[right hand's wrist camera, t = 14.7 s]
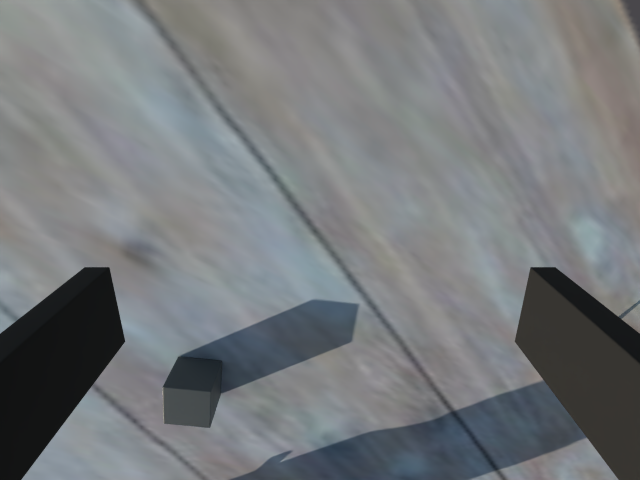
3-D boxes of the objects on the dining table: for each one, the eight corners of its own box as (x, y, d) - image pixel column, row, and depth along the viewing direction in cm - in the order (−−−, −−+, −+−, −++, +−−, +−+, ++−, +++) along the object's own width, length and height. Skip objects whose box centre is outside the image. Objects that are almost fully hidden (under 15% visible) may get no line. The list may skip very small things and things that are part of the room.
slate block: (178, 356, 46) (162, 387, 41) (222, 360, 46) (211, 391, 41) (178, 390, 48) (163, 423, 43) (220, 394, 48) (210, 428, 43)
